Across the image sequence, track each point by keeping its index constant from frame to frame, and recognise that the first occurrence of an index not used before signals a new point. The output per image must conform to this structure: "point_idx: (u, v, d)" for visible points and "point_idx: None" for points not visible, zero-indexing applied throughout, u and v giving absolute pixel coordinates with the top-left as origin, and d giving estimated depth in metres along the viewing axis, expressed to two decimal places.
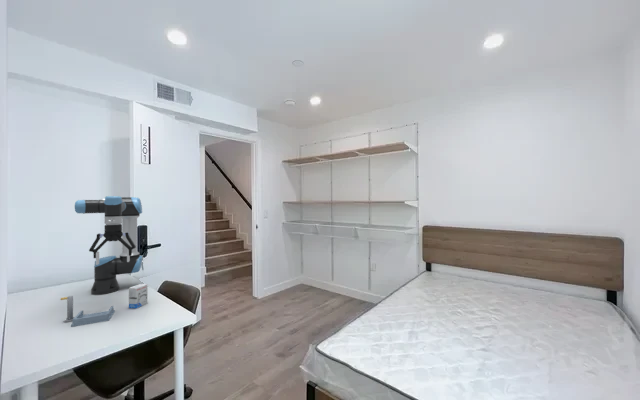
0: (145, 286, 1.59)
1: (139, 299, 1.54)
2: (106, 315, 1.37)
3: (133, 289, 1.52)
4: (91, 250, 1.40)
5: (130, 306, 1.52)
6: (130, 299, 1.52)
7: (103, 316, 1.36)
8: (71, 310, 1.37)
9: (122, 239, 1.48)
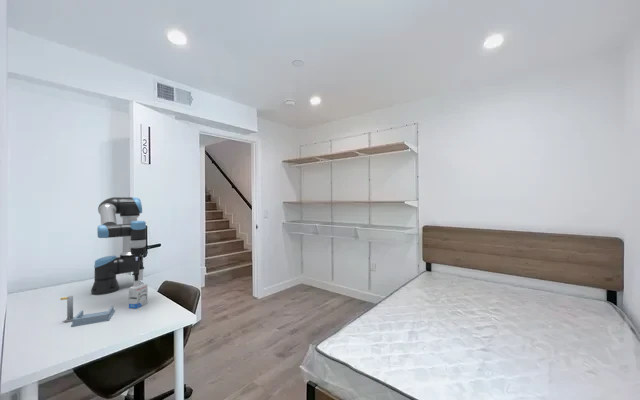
0: (145, 286, 1.59)
1: (139, 299, 1.54)
2: (106, 315, 1.37)
3: (133, 289, 1.52)
4: None
5: (130, 306, 1.52)
6: (130, 299, 1.52)
7: (103, 316, 1.36)
8: (71, 310, 1.37)
9: None
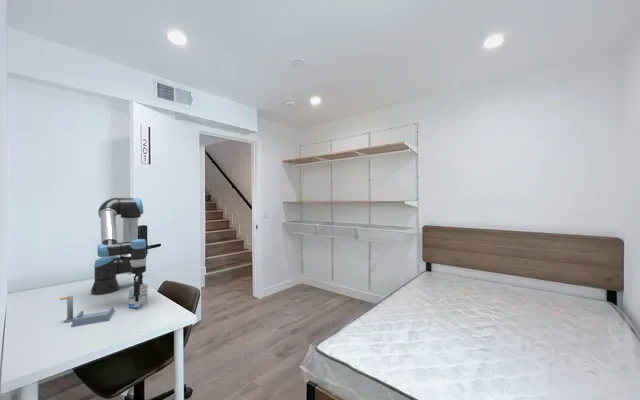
0: (145, 286, 1.59)
1: None
2: (106, 315, 1.37)
3: (133, 289, 1.52)
4: None
5: (130, 306, 1.52)
6: (130, 299, 1.52)
7: (103, 316, 1.36)
8: (71, 310, 1.37)
9: None
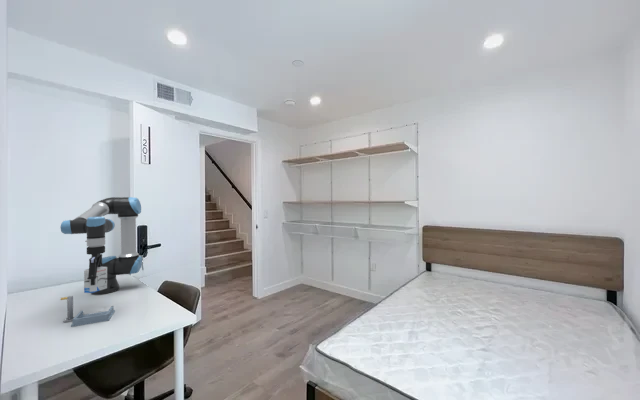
0: (104, 269, 1.42)
1: None
2: (106, 315, 1.37)
3: None
4: None
5: (86, 290, 1.36)
6: (86, 282, 1.36)
7: (103, 316, 1.36)
8: (71, 310, 1.37)
9: None
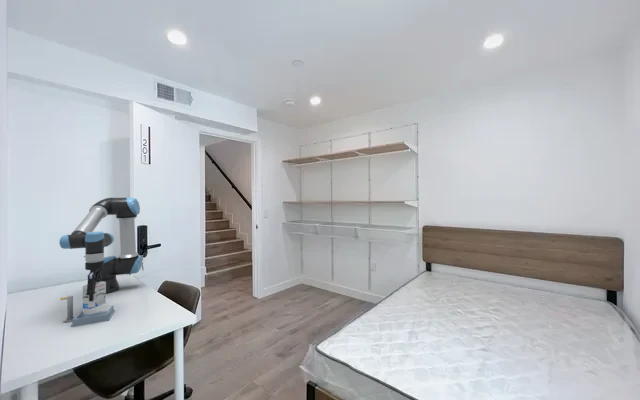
0: (103, 284, 1.42)
1: (95, 298, 1.38)
2: (106, 315, 1.37)
3: None
4: None
5: (84, 306, 1.36)
6: (84, 298, 1.36)
7: (103, 316, 1.36)
8: (71, 310, 1.37)
9: (93, 280, 1.37)
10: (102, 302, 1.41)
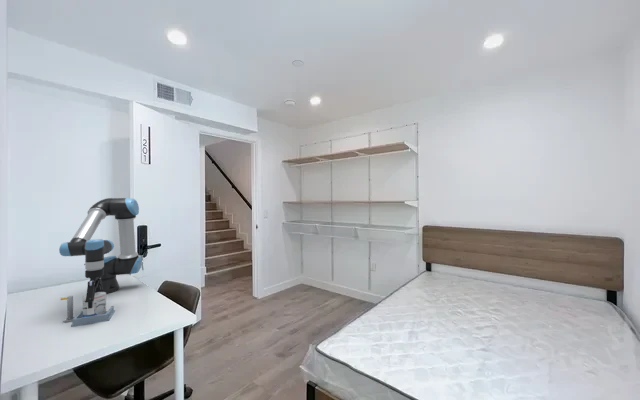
0: (103, 295, 1.42)
1: (95, 309, 1.38)
2: (106, 315, 1.37)
3: None
4: None
5: None
6: (84, 309, 1.36)
7: (103, 316, 1.36)
8: (71, 310, 1.37)
9: (93, 287, 1.36)
10: (102, 313, 1.41)
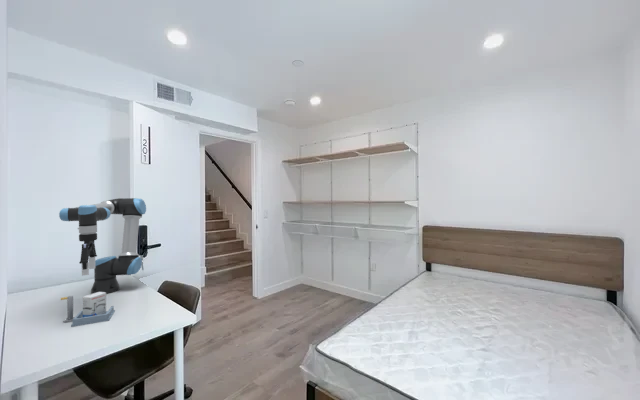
0: (103, 295, 1.42)
1: (95, 309, 1.38)
2: (106, 315, 1.37)
3: (87, 298, 1.36)
4: None
5: None
6: (84, 309, 1.36)
7: (103, 316, 1.36)
8: (71, 310, 1.37)
9: (87, 250, 1.42)
10: (102, 313, 1.41)
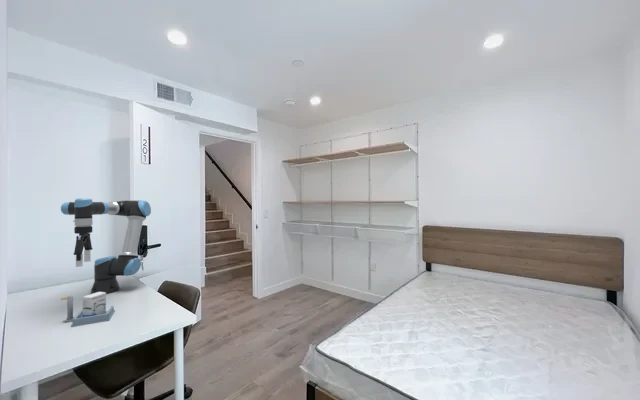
0: (103, 295, 1.42)
1: (95, 309, 1.38)
2: (106, 315, 1.37)
3: (87, 298, 1.36)
4: None
5: None
6: (84, 309, 1.36)
7: (103, 316, 1.36)
8: (71, 310, 1.37)
9: (82, 242, 1.45)
10: (102, 313, 1.41)
